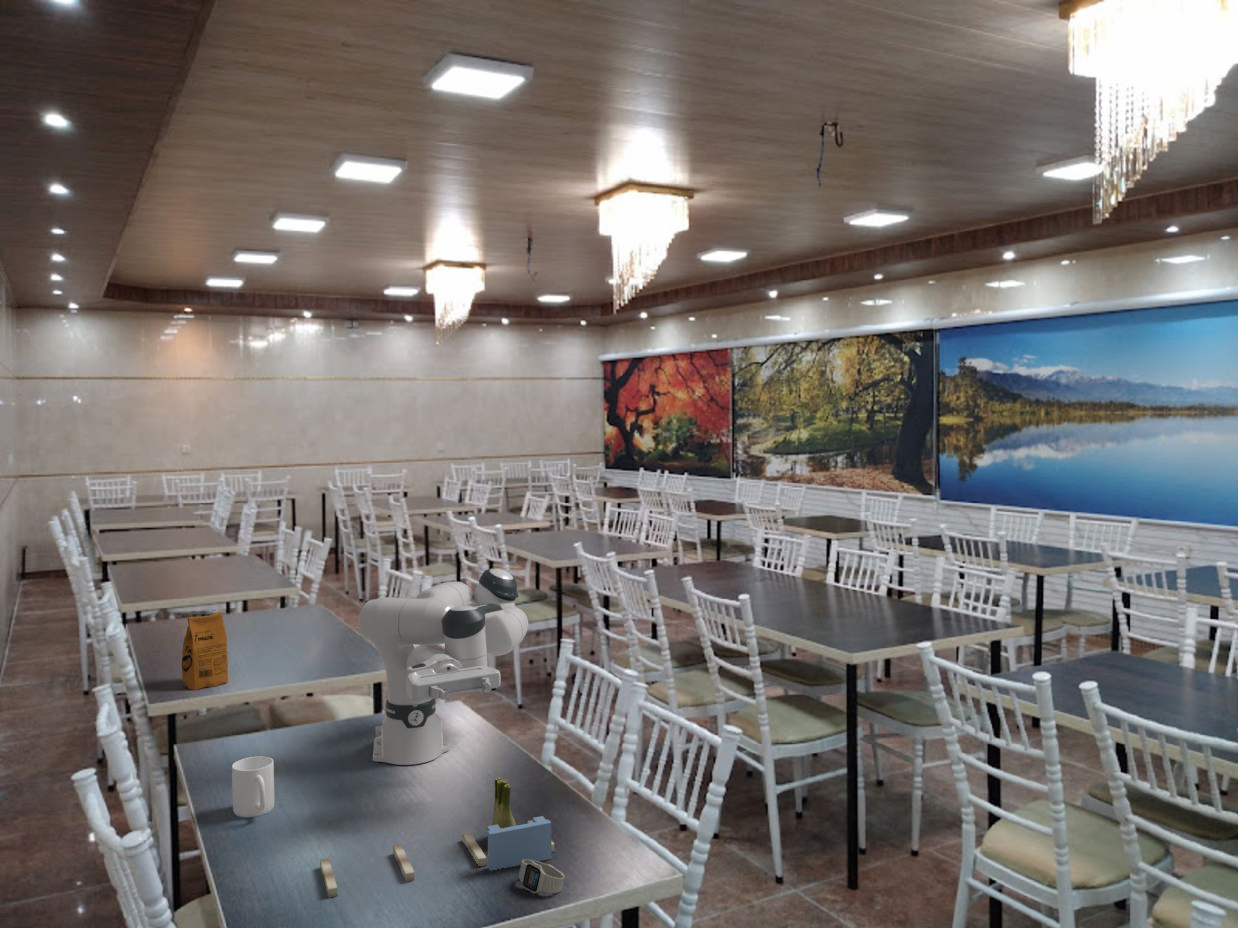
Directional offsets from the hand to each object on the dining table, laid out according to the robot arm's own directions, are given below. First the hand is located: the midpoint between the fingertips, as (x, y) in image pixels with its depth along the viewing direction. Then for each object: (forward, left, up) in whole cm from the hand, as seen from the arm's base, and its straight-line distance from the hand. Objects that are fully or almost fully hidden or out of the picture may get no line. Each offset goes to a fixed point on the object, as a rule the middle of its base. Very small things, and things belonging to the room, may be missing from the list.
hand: (467, 691), depth 200 cm
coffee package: (-127, -50, -26) cm, 139 cm away
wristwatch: (+35, +4, -26) cm, 44 cm away
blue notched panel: (+26, +3, -26) cm, 37 cm away
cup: (-19, -41, -26) cm, 52 cm away
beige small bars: (+18, -11, -26) cm, 33 cm away
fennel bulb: (+15, +3, -26) cm, 30 cm away
